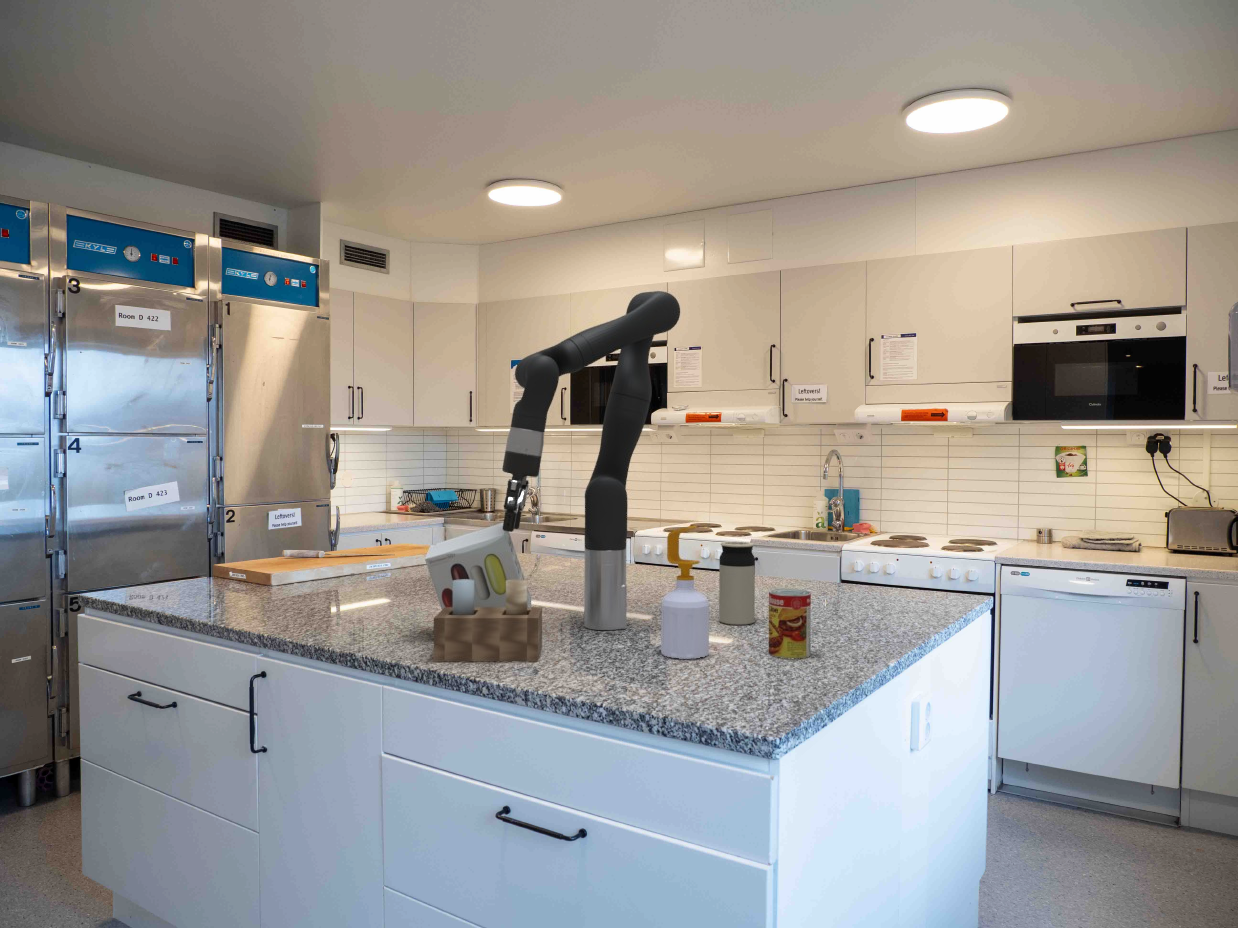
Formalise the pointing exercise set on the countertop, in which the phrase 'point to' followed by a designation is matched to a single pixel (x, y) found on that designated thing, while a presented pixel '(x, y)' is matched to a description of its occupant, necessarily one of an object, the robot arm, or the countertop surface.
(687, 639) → the soap bottle
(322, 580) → the countertop surface
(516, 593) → the birch peg
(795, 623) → the canned food
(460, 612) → the blue-grey peg
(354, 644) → the countertop surface
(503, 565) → the supplement box
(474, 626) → the walnut block
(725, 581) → the travel mug
